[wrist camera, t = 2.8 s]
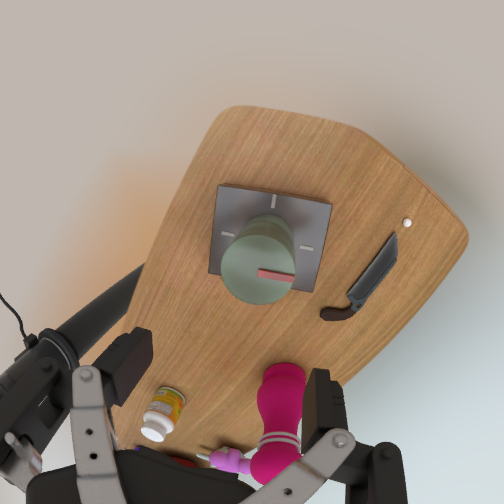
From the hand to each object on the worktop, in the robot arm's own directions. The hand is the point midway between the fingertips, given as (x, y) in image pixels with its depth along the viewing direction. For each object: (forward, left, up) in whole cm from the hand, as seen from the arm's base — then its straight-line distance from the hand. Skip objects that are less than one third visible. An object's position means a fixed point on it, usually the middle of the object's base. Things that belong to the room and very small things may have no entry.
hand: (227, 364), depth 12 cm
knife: (+13, -2, -21) cm, 25 cm away
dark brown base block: (0, +1, -21) cm, 21 cm away
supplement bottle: (-12, -31, -21) cm, 39 cm away
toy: (-2, -55, -21) cm, 58 cm away
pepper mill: (+6, -20, -21) cm, 30 cm away
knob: (0, +1, -18) cm, 18 cm away
